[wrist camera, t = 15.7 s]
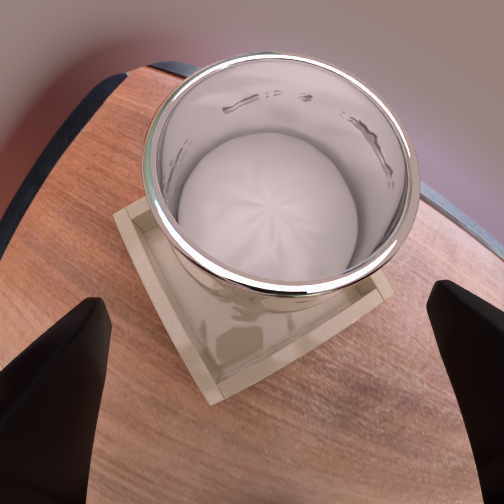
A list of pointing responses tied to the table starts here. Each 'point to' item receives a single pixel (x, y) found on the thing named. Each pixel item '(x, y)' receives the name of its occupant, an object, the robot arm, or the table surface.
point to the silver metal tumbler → (279, 180)
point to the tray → (232, 315)
